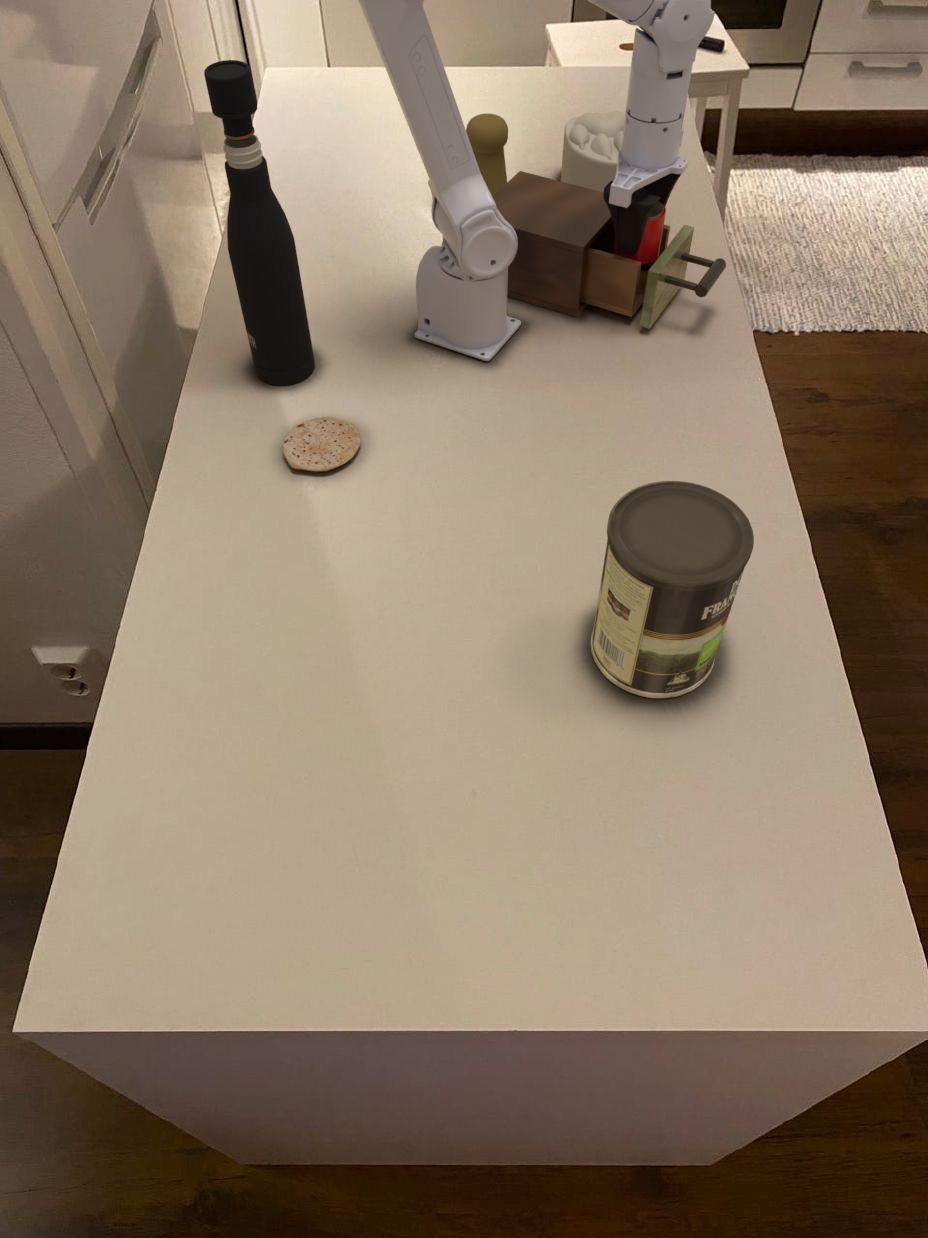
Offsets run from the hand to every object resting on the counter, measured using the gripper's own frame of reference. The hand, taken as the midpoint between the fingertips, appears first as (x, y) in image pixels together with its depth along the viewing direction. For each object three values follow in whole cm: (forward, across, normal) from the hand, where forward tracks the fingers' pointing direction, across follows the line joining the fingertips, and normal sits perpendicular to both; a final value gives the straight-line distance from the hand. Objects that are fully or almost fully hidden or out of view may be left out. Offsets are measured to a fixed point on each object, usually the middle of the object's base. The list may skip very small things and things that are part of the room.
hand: (636, 239), depth 103 cm
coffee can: (+8, -45, -21) cm, 50 cm away
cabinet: (+8, 0, +11) cm, 13 cm away
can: (+1, 0, 0) cm, 1 cm away
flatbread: (+8, -38, +17) cm, 42 cm away
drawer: (+7, 0, -1) cm, 7 cm away
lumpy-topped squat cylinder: (+8, +21, +13) cm, 26 cm away
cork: (+8, +11, +25) cm, 28 cm away
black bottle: (+8, -29, +28) cm, 41 cm away
